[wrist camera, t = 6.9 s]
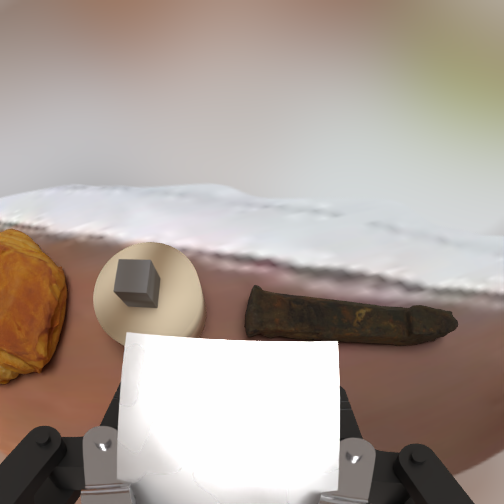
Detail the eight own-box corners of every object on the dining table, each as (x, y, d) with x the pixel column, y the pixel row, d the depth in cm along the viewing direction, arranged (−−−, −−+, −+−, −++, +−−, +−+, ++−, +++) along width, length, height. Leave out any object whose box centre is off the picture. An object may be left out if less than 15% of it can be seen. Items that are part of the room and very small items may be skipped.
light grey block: (286, 375, 16) (337, 341, 8) (285, 472, 13) (334, 535, 5) (183, 371, 15) (126, 332, 8) (179, 468, 13) (118, 524, 5)
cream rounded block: (225, 305, 26) (222, 264, 19) (165, 379, 23) (136, 367, 16) (156, 253, 28) (133, 201, 21) (99, 318, 25) (55, 284, 18)
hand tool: (241, 340, 25) (242, 326, 21) (249, 295, 27) (252, 273, 23) (439, 362, 25) (469, 352, 21) (440, 323, 26) (467, 308, 22)
